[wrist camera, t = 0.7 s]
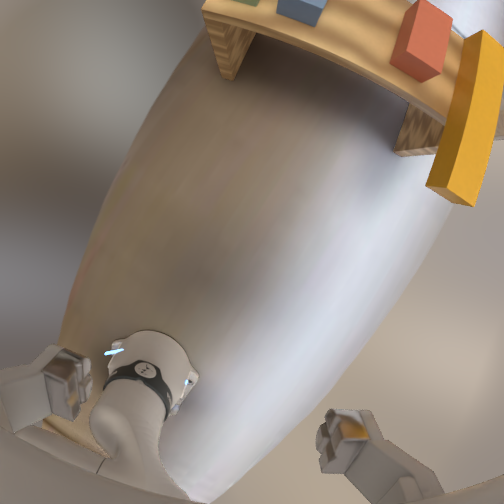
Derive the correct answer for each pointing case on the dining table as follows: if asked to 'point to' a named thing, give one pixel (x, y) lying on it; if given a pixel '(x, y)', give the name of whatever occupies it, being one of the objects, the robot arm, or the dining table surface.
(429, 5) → the block
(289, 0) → the block
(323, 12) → the shelf
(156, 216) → the dining table surface
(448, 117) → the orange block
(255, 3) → the block
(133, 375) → the robot arm
